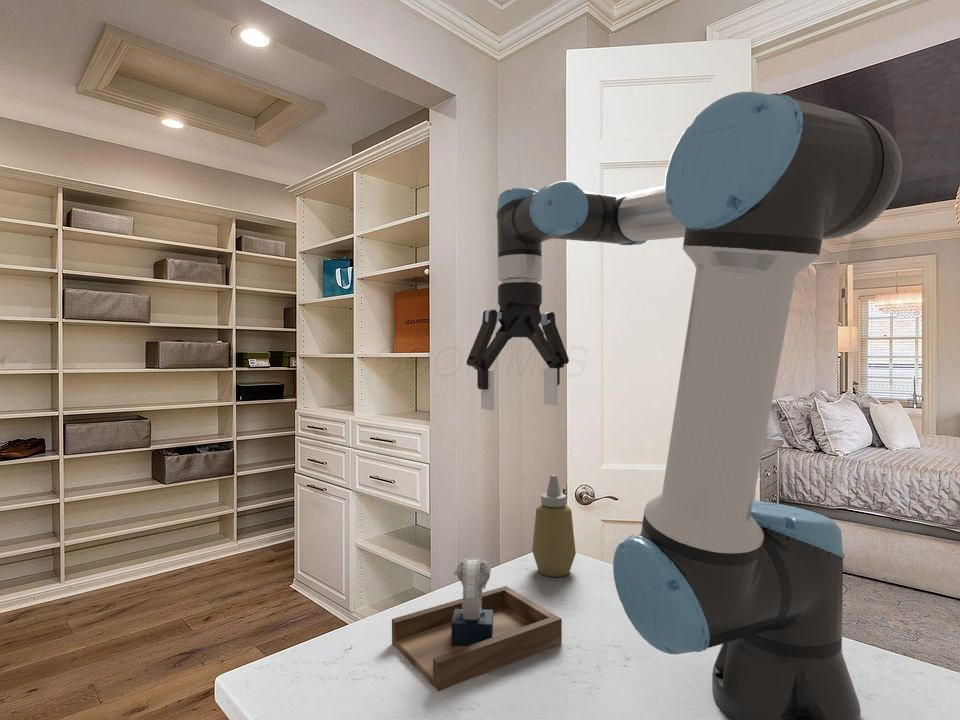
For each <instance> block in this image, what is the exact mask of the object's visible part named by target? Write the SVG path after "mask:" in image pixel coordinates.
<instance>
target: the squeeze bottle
mask: <svg viewBox="0 0 960 720" xmlns="http://www.w3.org/2000/svg"><path fill="white" fill-rule="evenodd" d="M546 491H547V492H544V493H542V494H541V495H540V499H541V500H540V502H541V504H540V505H539V506H537V507H536V508H535V521H534V530H533V538H532V539H533V540H532V549H531V552H532V554H533V557H534V561H535V564H536V568H537V570H538V573H540V574H541V575H544V576H547V577H554V578H555V577H557V578H558V577H564V576H565V577H566V576H567V575H568V574H570V573H571V569H572V565H573V563H574V560H575V557H576V554H577V553H576V543H575V535H574V524H573V513H572V509H571V508H570V507H569V506H568V505H567V495H566V494H565V493H561V489H560V485H559V481H558V476H557V475H555V474H551V475H550V476H549V481H548V485H547V490H546Z"/></svg>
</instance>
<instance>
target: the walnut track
mask: <svg viewBox="0 0 960 720" xmlns="http://www.w3.org/2000/svg"><path fill="white" fill-rule="evenodd" d="M455 609H462V598H459V599H456V600H452V601H448V602H445V603H442V604H438V605H436V606H432V607H428V608H425V609H422V610H421V609H420V610H418V611H415V612H411V613H408V614H405V615H401V616H399V617H398V616H397V617H394V618H392V619H391V644H392V645H393V646H394V648H396V649H397V650H398V651H399V653H400V654H401V655H403V657H405V659H406V660H407V661H408V662H409V663H410V664H411V665H412V666H413V667H414V668H415V669H416V670H417V671H418V673H420V674H421V675H422V676H423V678H425V679H426V680H427V682H429V683H430V685H431V686H432V687H433V688H434V689H435V690H436V691H437V692H439V691H442V690H445V689H446V688H447V689H448V688H450V687H453V686H455V685H457V684H460V683H463V682H465V681H468V680H470V679H472V678H475V677H478V676H480V675H481V676H482V675H483V674H484V675H485V674H486V673H488V672H491V671H493V670H496V669H499V668H501V667H504V666H506V665H509V664H511V663H514V662H517V661H520V660H523V659H525V658H527V657H530V656H533V655H535V654H537V653H540V652H542V651H543V652H544V651H545V650H549V649H551V648H553V647H555V646H559V645H560V644H562V643H563V642H562V641H563V638H562V637H563V635H562V634H563V633H562V631H563V630H562V625H563V624H562V623H563V621H562V618H561V617H560V616H558V615H556V614H554V613H553V612H551V611H549V610H547V609H546V608H544V607H542V605H539V604H538V603H536V602H535V601H533V600H531V599H529V598H528V597H526V596H524V595H522V594H521V593H519V592H517V591H516V590H514V589H512V588H510V587H509V586H508V585H504V586H500V587H497V588H494V589H489V590H487V591H484V592H483V591H482V605H481V609H482V610H493V638H490V639H487V640H484V641H481V642H478V643H475V644H473V645H470V646H452V626H451V623H452V619H453V615H454V611H455Z"/></svg>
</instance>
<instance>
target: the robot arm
mask: <svg viewBox="0 0 960 720" xmlns="http://www.w3.org/2000/svg"><path fill="white" fill-rule="evenodd" d="M901 155H902V154H901V151H900V147H899V146H898V144H897V143H896V140H895V139H894V137H893V135H892V134H891V133H890V132H889V131H888V130H887V129H886V128H885V127H884V126H883V125H881V124H880V123H878V121H875V120H874V119H872V118H869V117H867V116H864V115H861V114H856V113H852V112H848V111H847V112H846V111H842V110H838V109H834V108H830V107H826V106H822V105H818V104H814V103H811V102H806V101H802V100H799V99H795V98H792V97H791V96H790V95H787V94H783V93H769V94H768V93H762V92H756V91H739V92H735V93H730V94H728V95H725V96H723V97H721V98H718V99H717V100H715V101H714V102H712V103H710V104H709V105H707V107H705V108H704V109H703V110H702V111H700V113H699V114H697V115H696V117H695V118H694V120H693V121H692V123H691V124H690V126H687V127H686V128H685V129H684V131H683V133H682V134H681V136H680V137H679V139H678V141H677V142H676V144H675V147H674V149H673V150H672V153H671V155H670V158H669V162H668V165H667V168H666V173H665V178H664V179H665V180H664V185H662V186H661V185H660V186H657V187H652V188H648V189H647V188H646V189H643V190H637V191H634V192H630V193H624V194H620V195H616V194H615V195H613V194H603V193H602V194H601V193H595V192H588V191H584V190H583V188H581V187H579V186H578V185H576V184H575V183H574V182H573V181H567V180H561V181H556V182H554V183H550V184H548V185H545V186H543V187H542V188H540V189H539V190H537V189H534V188H529V187H528V188H527V187H514V188H511V189H506V190H504V191H502V192H501V193H500V194H499V195H498V198H497V211H496V219H497V222H496V225H497V280H498V282H500V284H499V285H498V286H497V303H498V305H499V309H498V311H497V310H496V309H488V310H484V311H483V312H482V321H481V325H480V328H479V330H478V332H477V335H476V337H475V340H474V342H473V344H472V347H471V349H470V352H469V354H468V357H467V360H466V365H467V366H468V367H472V368H473V369H474V370H476V372H477V374H476V375H477V379H476V380H477V389H478V390H480V398H481V399H480V400H481V401H480V409H481V410H487V411H495V370H493V369H490V368H491V366H493V363H494V362H495V361H496V359H497V358H498V356H499V355H500V353H502V350H503V349H504V347H505V346H506V345H507V343H508V342H509V341H510V340H511V339H512V338H527V339H528V340H529V341H531V342H532V344H533V346H534V347H535V349H536V351H537V352H538V353H539V355H540V356H541V358H542V359H543V361H544V362H545V363H546V365H547V367H544V368H543V397H544V398H543V405H548V406H549V405H551V406H558V386H560V380H561V378H560V377H561V375H560V374H561V372H560V371H561V368H564V367H565V365H567V364H569V362H570V359H569V356H568V353H567V351H566V348H565V345H564V343H563V341H562V338H561V335H560V333H559V330H558V327H557V324H556V315H555V314H556V313H555V312H553V311H548V312H541V310H540V308H541V305H542V303H543V286H542V285H541V283H539V282H541V281H542V280H543V267H542V266H543V262H542V261H543V259H542V256H543V254H542V253H543V252H542V247H543V245H542V244H543V242H545V241H549V240H552V239H553V240H555V239H556V240H569V241H579V242H580V241H581V242H594V243H595V242H596V243H606V244H617V245H620V246H632V245H634V246H636V245H637V246H640V245H643V244H645V243H646V242H647V241H655V240H666V239H667V240H668V239H678V238H683V242H682V243H683V244H682V250H683V251H684V253H685V254H686V255H687V256H688V258H689V259H690V260H691V262H692V263H693V264H694V267H695V275H694V282H693V288H692V294H691V301H690V307H689V313H688V321H687V328H686V335H685V341H684V347H683V355H682V361H681V366H680V367H681V368H680V373H679V374H680V375H679V380H678V385H677V392H676V393H677V394H676V400H675V406H674V407H675V408H674V413H673V420H672V426H671V427H672V428H671V434H670V439H669V446H668V447H669V448H668V452H667V458H666V467H665V472H664V478H663V485H662V492H661V494H659V495H657V496H655V497H653V498H652V499H650V500H649V501H648V502H647V503H646V504H645V506H644V510H643V517H642V525H641V530H640V533H639V535H633V534H632V535H630V536H628V537H626V538H625V539H624V541H621V542H620V543H618V545H617V547H616V548H615V551H614V555H613V561H612V562H613V563H612V568H613V570H612V571H613V573H612V574H613V580H614V585H615V589H616V592H617V596H618V598H619V601H620V603H621V605H622V608H623V611H624V612H625V614H626V616H627V618H628V620H629V622H630V623H631V624H632V626H633V627H634V629H635V630H636V632H638V634H639V635H640V636H641V638H643V639H644V641H646V643H648V644H649V645H650V646H651V647H653V648H655V649H656V650H658V651H660V652H662V653H665V654H668V655H682V654H687V653H688V654H689V653H694V652H695V653H701V652H703V651H706V650H707V649H710V648H714V647H717V646H719V645H721V646H720V649H719V652H718V654H717V656H716V659H715V662H714V664H713V666H712V667H713V668H712V672H711V673H712V674H711V676H712V677H711V678H712V679H711V681H712V682H711V683H712V684H711V690H712V692H711V693H712V696H713V698H714V701H715V702H716V704H717V706H718V707H719V708H720V710H722V711H723V712H724V714H726V716H727V717H729V718H730V719H731V720H861V718H862V717H861V712H862V711H861V706H860V701H859V698H858V696H857V693H856V689H855V686H854V684H853V680H852V678H851V674H850V672H849V670H848V667H847V663H846V661H845V659H844V655H843V644H842V643H843V582H844V581H843V578H844V576H843V575H844V574H843V573H844V571H843V570H844V559H845V555H846V554H845V553H844V551H843V538H842V537H843V536H842V534H843V533H842V531H841V528H840V526H839V525H838V524H837V523H836V522H835V521H834V520H833V519H831V518H829V517H827V516H825V515H824V514H823V515H822V514H821V513H817V512H814V511H811V510H807V509H804V508H799V507H796V506H790V505H788V504H786V505H785V504H780V503H776V502H769V501H761V500H754V499H755V493H756V489H757V483H758V478H759V473H760V466H761V461H762V457H763V451H764V446H765V441H766V435H767V430H768V424H769V420H770V414H771V411H772V410H771V408H772V403H773V397H774V393H775V388H776V382H777V377H778V372H779V366H780V363H781V362H780V361H781V357H782V350H783V344H784V341H785V336H786V329H787V325H788V320H789V319H788V318H789V313H790V308H791V303H792V298H793V293H794V288H795V287H794V286H795V282H796V278H797V277H798V275H799V274H800V272H802V271H803V270H805V268H807V267H808V266H810V265H812V264H813V263H814V262H816V261H817V260H819V259H820V254H821V247H822V242H823V240H829V239H839V238H842V237H845V236H848V235H851V234H853V233H856V232H858V231H860V230H862V229H865V227H867V226H868V225H870V224H871V223H872V222H874V221H875V220H876V219H878V218H879V216H880V215H881V214H883V212H885V211H886V210H887V207H888V206H889V205H890V203H891V202H892V201H893V199H894V198H895V196H896V193H897V191H898V190H899V189H898V188H899V187H900V183H901V179H902V173H903V172H902V171H903V164H902V163H903V162H902V156H901ZM498 323H499V324H500V326H499V328H498V329H497V331H496V333H495V336H494V338H492V336H493V334H494V331H495V330H496V325H497V324H498ZM540 325H541V327H540ZM491 339H492V340H491ZM490 341H491V342H490Z"/></svg>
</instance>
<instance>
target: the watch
mask: <svg viewBox="0 0 960 720" xmlns="http://www.w3.org/2000/svg"><path fill="white" fill-rule="evenodd" d="M491 572H492V569H491V565H490V564H489V563H488V562H487V561H486V560H484V559H482V558H479V557H467V558H464V559H462V560H460V561H459V562H458V564H457V568H455V569H454V570H453V576H457V578H458V580H459V581H460V582H461V585H462V598H461V599H462V609H455V611H454V615H453V619H452V623H451V626H452V646H470V645H473V644H475V643H478V642H481V641H484V640H487V639H490V638H493V610H482V609H481V605H482V593H483V590H484V589H486V586H487V583H488V581H489V580H490V577H491Z"/></svg>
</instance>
